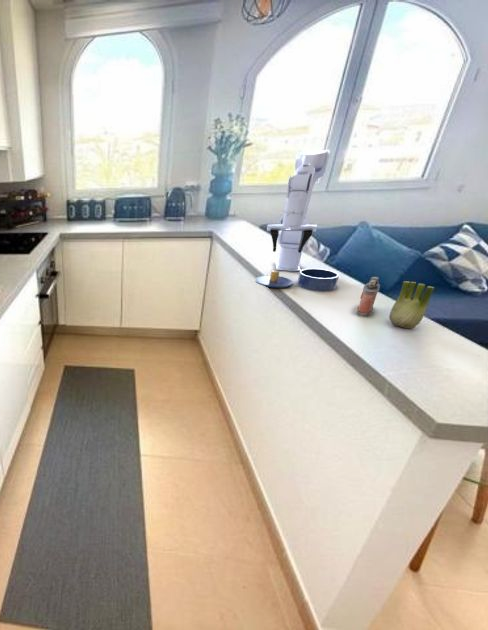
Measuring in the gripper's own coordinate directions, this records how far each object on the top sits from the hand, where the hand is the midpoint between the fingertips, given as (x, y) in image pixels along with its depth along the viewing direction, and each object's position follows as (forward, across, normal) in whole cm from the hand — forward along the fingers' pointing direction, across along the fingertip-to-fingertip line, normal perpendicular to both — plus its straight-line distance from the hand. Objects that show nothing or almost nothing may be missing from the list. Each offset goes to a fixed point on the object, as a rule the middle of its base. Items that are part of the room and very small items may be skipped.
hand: (286, 251), depth 122 cm
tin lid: (+10, -3, -5) cm, 12 cm away
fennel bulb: (+11, +25, -32) cm, 42 cm away
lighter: (+11, +19, -24) cm, 33 cm away
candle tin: (+10, +10, -4) cm, 15 cm away
